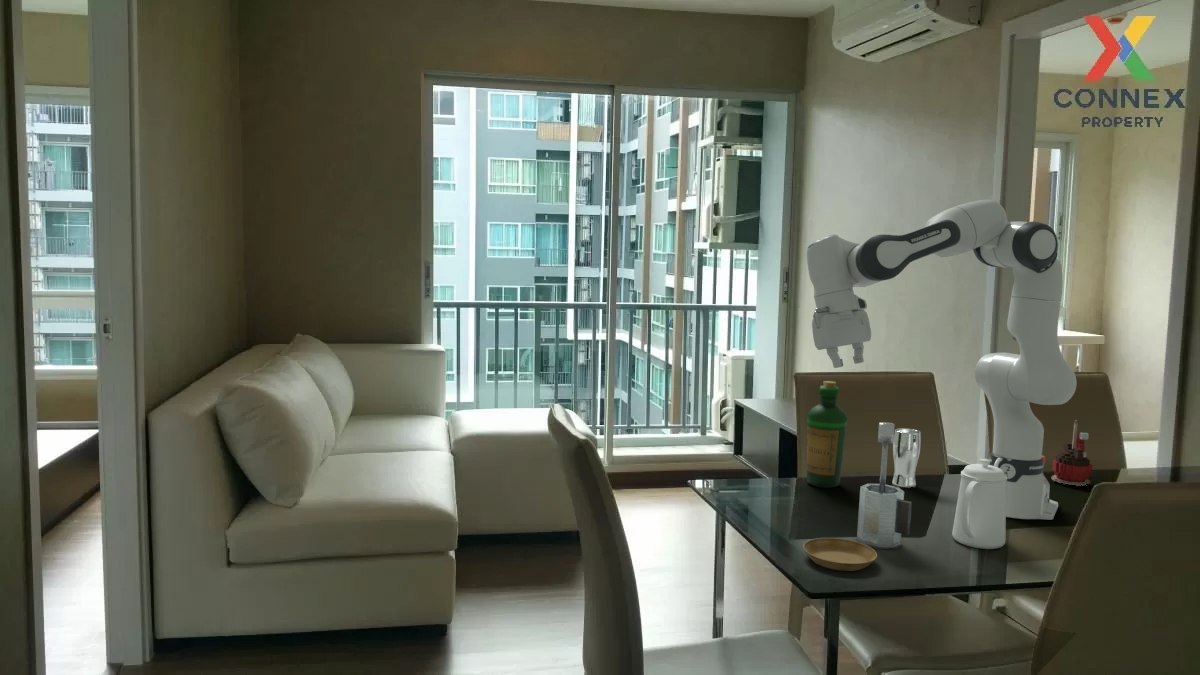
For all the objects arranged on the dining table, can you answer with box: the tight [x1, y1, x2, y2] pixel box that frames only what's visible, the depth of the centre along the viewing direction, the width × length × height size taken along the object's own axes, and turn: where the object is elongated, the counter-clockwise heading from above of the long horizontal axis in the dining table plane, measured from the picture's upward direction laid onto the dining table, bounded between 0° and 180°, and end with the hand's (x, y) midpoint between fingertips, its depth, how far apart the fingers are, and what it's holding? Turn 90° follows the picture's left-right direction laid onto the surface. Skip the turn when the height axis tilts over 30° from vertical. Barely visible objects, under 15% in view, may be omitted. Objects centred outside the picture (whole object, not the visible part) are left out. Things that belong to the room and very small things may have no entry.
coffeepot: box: [951, 458, 1007, 550], centre depth 197 cm, size 11×25×19 cm, turn 141°
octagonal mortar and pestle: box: [856, 483, 913, 551], centre depth 194 cm, size 9×11×12 cm
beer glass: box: [891, 427, 921, 489], centre depth 243 cm, size 7×7×15 cm
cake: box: [1050, 419, 1093, 487], centre depth 250 cm, size 11×9×18 cm
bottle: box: [806, 380, 849, 489], centre depth 240 cm, size 11×11×28 cm
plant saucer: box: [802, 537, 878, 572], centre depth 184 cm, size 15×15×3 cm
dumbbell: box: [877, 421, 895, 493], centre depth 194 cm, size 5×5×17 cm
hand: (849, 365), depth 204 cm, fingers open, 8 cm apart
